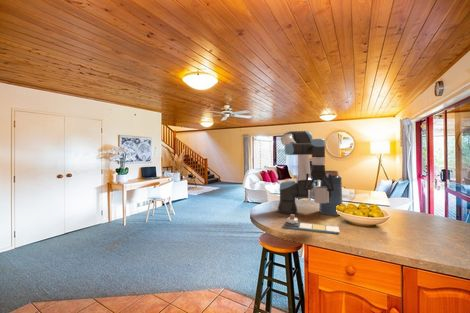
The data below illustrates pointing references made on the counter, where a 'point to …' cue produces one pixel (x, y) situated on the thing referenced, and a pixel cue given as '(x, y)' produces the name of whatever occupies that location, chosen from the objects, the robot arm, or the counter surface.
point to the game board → (313, 227)
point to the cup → (319, 194)
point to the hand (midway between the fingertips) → (318, 201)
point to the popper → (292, 219)
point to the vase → (332, 194)
